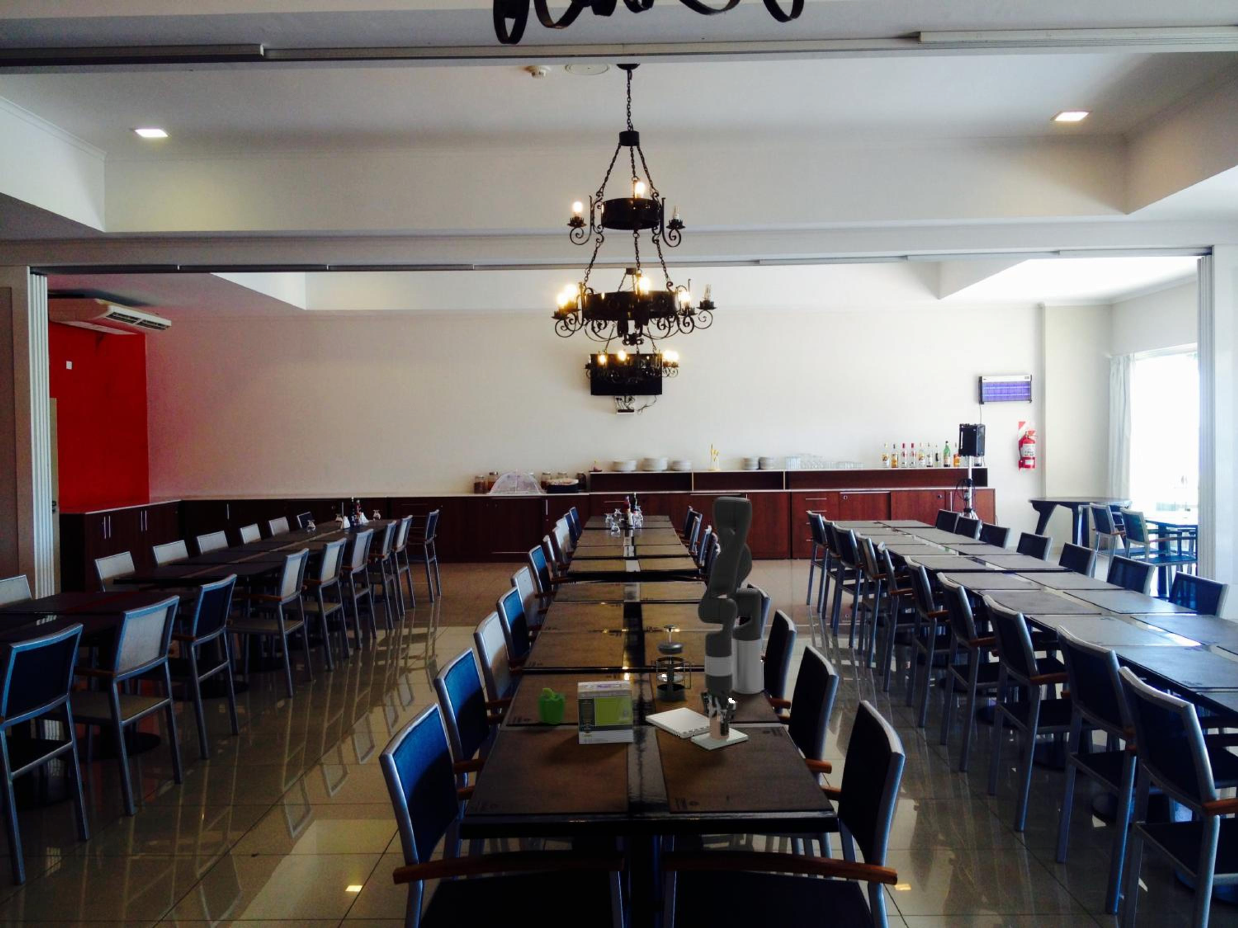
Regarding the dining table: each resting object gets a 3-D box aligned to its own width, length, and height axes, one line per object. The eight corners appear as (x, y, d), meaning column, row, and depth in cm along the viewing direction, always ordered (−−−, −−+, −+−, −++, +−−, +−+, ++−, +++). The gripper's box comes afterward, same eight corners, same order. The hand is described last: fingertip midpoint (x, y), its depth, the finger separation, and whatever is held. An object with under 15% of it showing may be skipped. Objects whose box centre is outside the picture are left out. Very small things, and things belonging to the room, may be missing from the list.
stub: (691, 740, 236) (690, 719, 235) (729, 730, 243) (728, 709, 243) (709, 749, 229) (709, 727, 229) (748, 739, 236) (747, 717, 236)
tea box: (631, 730, 245) (630, 678, 245) (633, 743, 235) (632, 689, 235) (578, 732, 245) (577, 680, 244) (578, 744, 235) (577, 691, 234)
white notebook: (646, 720, 253) (646, 715, 253) (684, 711, 261) (684, 706, 261) (682, 738, 238) (682, 733, 238) (722, 727, 246) (722, 723, 246)
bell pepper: (572, 719, 255) (571, 686, 255) (556, 728, 248) (555, 693, 248) (548, 715, 260) (548, 682, 259) (532, 723, 252) (531, 689, 252)
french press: (653, 701, 271) (651, 628, 270) (655, 692, 280) (654, 622, 279) (690, 702, 269) (689, 629, 268) (691, 693, 279) (690, 622, 278)
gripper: (746, 674, 231) (747, 737, 232) (713, 662, 243) (714, 723, 244) (724, 679, 227) (725, 743, 228) (691, 667, 239) (692, 728, 240)
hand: (719, 732), depth 236 cm, fingers closed on stub, 3 cm apart
